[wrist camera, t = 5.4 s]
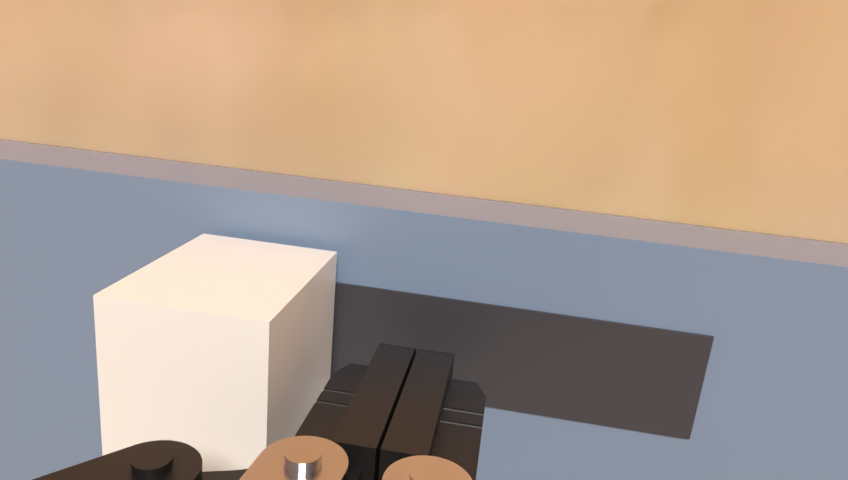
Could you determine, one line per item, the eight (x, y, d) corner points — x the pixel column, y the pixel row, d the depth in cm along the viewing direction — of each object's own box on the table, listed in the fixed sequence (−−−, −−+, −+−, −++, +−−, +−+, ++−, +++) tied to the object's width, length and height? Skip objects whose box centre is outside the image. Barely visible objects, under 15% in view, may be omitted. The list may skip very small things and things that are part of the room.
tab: (337, 251, 14) (269, 322, 10) (328, 417, 15) (264, 532, 11) (203, 233, 14) (92, 295, 11) (204, 396, 15) (105, 501, 12)
